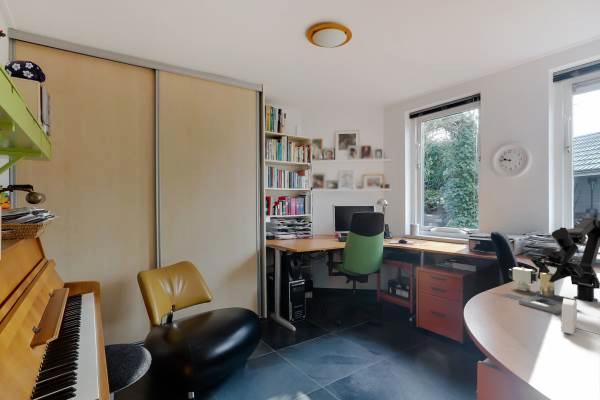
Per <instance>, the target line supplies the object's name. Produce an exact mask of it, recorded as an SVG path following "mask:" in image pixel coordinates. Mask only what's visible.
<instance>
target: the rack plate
mask: <svg viewBox="0 0 600 400" xmlns="http://www.w3.org/2000/svg"><path fill="white" fill-rule="evenodd" d="M564 298H565V299H570V300H575V301H577V298H572V297H568V296H562V295H558V294H555V295H554V296H547V295H543V294H540V290H536V295H533V296H529V297H528V296H527V297H526V298H525V297H524V298H521V299H518V304H519V305H523V306H526V307H529V308H532V309H536V310H540V311H544V312H548V313H551V314H553V315H556V316H560V315H562V303H563V299H564Z"/></svg>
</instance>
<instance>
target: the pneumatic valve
mask: <svg viewBox="0 0 600 400" xmlns="http://www.w3.org/2000/svg"><path fill="white" fill-rule="evenodd" d="M507 273H508V277H509V278H510V279H511V281H513V282H514V281H515V282H518V283H516V285H515V286H516V289H517V290H519V291H526V292H527V291H530V289H531V286H530V285H529V284H534V283H536V282H537V283H538V281H539V279H538V273H539V272H536V269H530V268H525V267H524V266H521V267H516V266H514V267H511V268H509V269H508V272H507Z"/></svg>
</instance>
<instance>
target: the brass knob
mask: <svg viewBox="0 0 600 400" xmlns="http://www.w3.org/2000/svg"><path fill="white" fill-rule="evenodd" d="M553 275H554V272H553V273H552V272H549V273H548V272H540V279H539V291H540V294H543V295H547V296H554V295H556V294H555V282H550V279H551V277H552V276H553Z"/></svg>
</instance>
